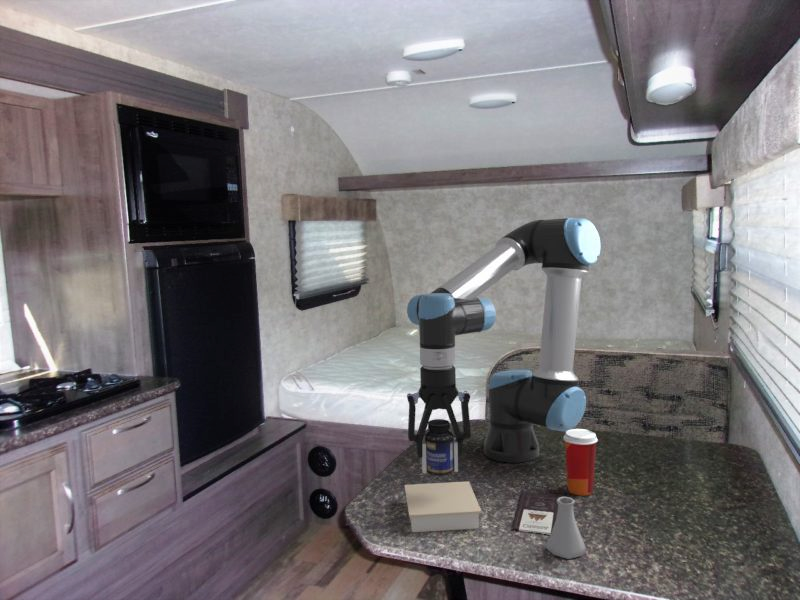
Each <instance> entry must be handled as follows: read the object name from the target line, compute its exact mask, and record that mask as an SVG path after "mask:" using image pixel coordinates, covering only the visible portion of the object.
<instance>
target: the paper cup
mask: <svg viewBox="0 0 800 600" xmlns="http://www.w3.org/2000/svg"><path fill="white" fill-rule="evenodd" d="M563 440H564V447H565V462H566V463H565V465H566V466H565V467H566V479H567V490H568V492H569V493H570V494H573V495H575V496H579V497H580V496H581V497H582V496H583V497H586V496H587V497H588V496H590V495H592V494H593V492H594V491H593V490H594V480H595V468H596V467H595V466H596V449H597V442H599V441H598V440H599V439H598V438H597V435H596V432H593V431H591V430H589V429H585V428H573V429H571V430H567V431H565V434H564V435H563Z"/></svg>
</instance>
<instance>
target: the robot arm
mask: <svg viewBox="0 0 800 600" xmlns="http://www.w3.org/2000/svg"><path fill="white" fill-rule="evenodd" d="M601 247H602V246H601V237H600V234H599V232H598V230H597V228H596V226H595V225H594V223H592V221H591V220H589V219H587V218H578V217H576V218H575V217H568V218H567V217H566V218H553V219H536V220H532V221H529V222H527V223H525V224H523V225H521V226H519V227H517V228H515V229H513V230H511V231H510V232H508V233H507V234H505V235H504V236H502V237H501V238H499V240H497V241H496V243H495V245H494V247H493V248H492V249H491V250H489V251H487V252H486V253H485V254H483V256H481V257H480V258H478V259H476V260H475V261H473V263H471V264H469V266H467V267H465V268H463V270H461V271H460V272H458V273H457V274H455V275H454V276H453V277H451V278H449V279H448V280H447V281H446V282H444V283H443V284H441V285H440V286H438V287H437V288H436V289H435V290H433V291H431V292H430V293H426V294H425V293H422V294H418V295H414V296H412V298H411V299H410V300H409V301H408V303H407V305H406V313H407V318H408V319H409V321H410V322H411V323H412V324H413V325H417V326H418V327H419V328H418V330H419V332H418V333H419V334H418V335H419V363H420V365H421V367H420V369H419V373H420V387H419V389H418V391H417V392H414V393H407V394H406V399H407V403H408V421H407V422H408V424H407V425H408V426H407V437H408V442H414V443H416V448H415V449H416V456H417V458H421V471H422V474H428V473H427V466H426V442H425V435H426V433H427V429H428V422H429V421H430V417H431V415H432V412H433V411H436V410H438V409H439V410H446V413H447V415H448V418H449V422H450V426H451V427H452V430H453V432H454V435H455V436H454V437H455V438H454V437H453V452H454V470H453V473H458V472H459V456H462V455H463V442H464V441H465V440H466V439H470V438H472V434H471V422H470V421H471V420H470V410H469V404H470V399H471V394H470V393H469V392H468V391H467V390H464V391H462V390H459V389H458V387H457V384H456V383H457V382H456V381H457V380H456V379H457V377H456V375H457V374H456V367H455V366H454V365H455V364H456V336H460V335H467V334H468V335H469V334H474V333H482V332H484V331H487V330H489V329H492V327H493V326H494V325H495V322H496V319H497V314H496V313H497V311H496V308H495V305H494V303H493V302H492V301H491V300H489V299H488V298H485V297H479V296H480V295H481V294H483V293H484V292H486V291H487V290H489V288H491V287H492V286H493V285H494V284H495V283H497V282H498V281H500V280H501V279H503V278H504V277H505V276H506V275H508V274H510V272H512V271H519V270H520V269H522V268H523V267H525V266H529V265H534V264H541V270H542V271H543V273H544V274H545V275H546V285H545V297H544V308H543V317H542V329H541V339H540V340H541V341H540V351H539V358H538V359H539V360H538V361H539V363H538V368H537V369H536V370H534V371H533V372H532V371H531V370H529V369H509V370H501V371H498V372H495V373H493V374H491V375H490V377H489V381H488V382H489V383H488V397H489V427H488V430H487V433H486V437H485V440H484V443H483V454H484V456H486V457H488V458H489V459H491V460H494V461H496V462H497V461H498V462H503V463H510V464H511V463H512V464H513V463H526V462H531V461H533V460H535V459H537V458H538V457H539V456H540V445H539V441H538V439H537V436H536V432H535V430H534V426H533V425H535V426H540V427H544V428H546V429H549V430H552V431H559V432H566V431H567V430H571V429H575V428H576V426H577V425H578V424H579V423H580V422H581V420H582V418H583V416H584V414H585V411H586V407H587V397H586V394H585V393H586V392H585V391H584V390H583V389H582V388H581V387H579V378H578V377H577V375H576V374H575V373H574V362H575V354H576V353H575V352H576V341H577V331H578V321H579V319H578V318H579V311H580V310H579V309H580V299H581V298H580V297H581V287H582V279H583V278H584V277H585V276H586V275H588V274H589V269H590V266H591V265H593V264H595V263H596V262H597V261H598V258H599V257H600V255H601ZM457 397H458V401H460V406H461V407H460V408H461V419H462V421H461V422H462V430H463V431H461V430H460V427H459V424H458V421H457V420H456V419H457V418H456V416H455V413H454V410H453V407H452V404H453V402H454V401H455V399H456V398H457ZM419 398H420V399H421V401H423V403H424V409H423V413H422V416H421V418H420V419H421V420H420V423H419V427H418V430H417V433H415V429H416V404H418V402H419Z"/></svg>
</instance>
